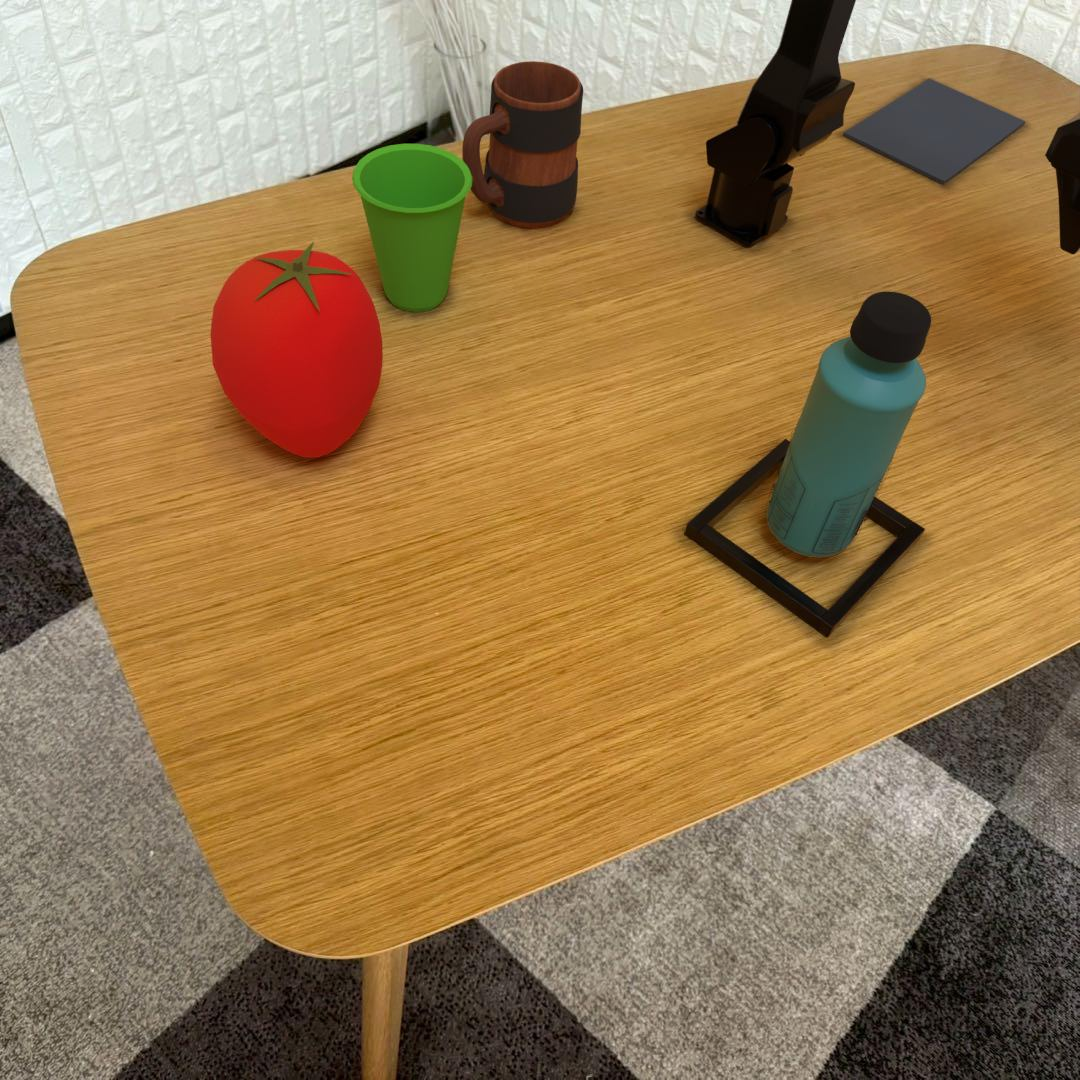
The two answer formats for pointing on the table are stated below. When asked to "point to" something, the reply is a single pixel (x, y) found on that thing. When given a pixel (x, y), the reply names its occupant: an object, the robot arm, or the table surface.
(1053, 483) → the table surface
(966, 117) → the table mat
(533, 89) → the mug
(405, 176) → the cup
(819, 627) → the black square frame
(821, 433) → the beverage bottle
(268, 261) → the tomato
